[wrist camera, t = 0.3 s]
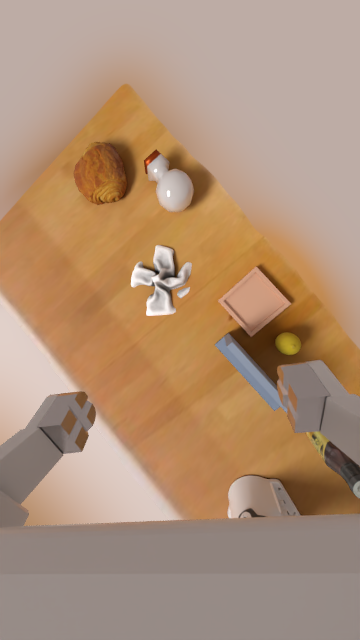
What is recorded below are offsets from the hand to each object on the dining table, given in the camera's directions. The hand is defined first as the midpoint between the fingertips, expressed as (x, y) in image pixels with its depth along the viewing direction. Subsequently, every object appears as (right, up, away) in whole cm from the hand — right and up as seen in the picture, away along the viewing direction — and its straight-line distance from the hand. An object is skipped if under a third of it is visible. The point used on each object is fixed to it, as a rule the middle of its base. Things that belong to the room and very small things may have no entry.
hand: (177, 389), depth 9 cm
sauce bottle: (+36, -26, +50) cm, 67 cm away
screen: (+20, -11, +51) cm, 56 cm away
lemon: (+28, -3, +49) cm, 56 cm away
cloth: (-4, +15, +53) cm, 55 cm away
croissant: (-22, +43, +53) cm, 72 cm away
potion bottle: (-2, +38, +50) cm, 63 cm away
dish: (+20, +8, +49) cm, 54 cm away
